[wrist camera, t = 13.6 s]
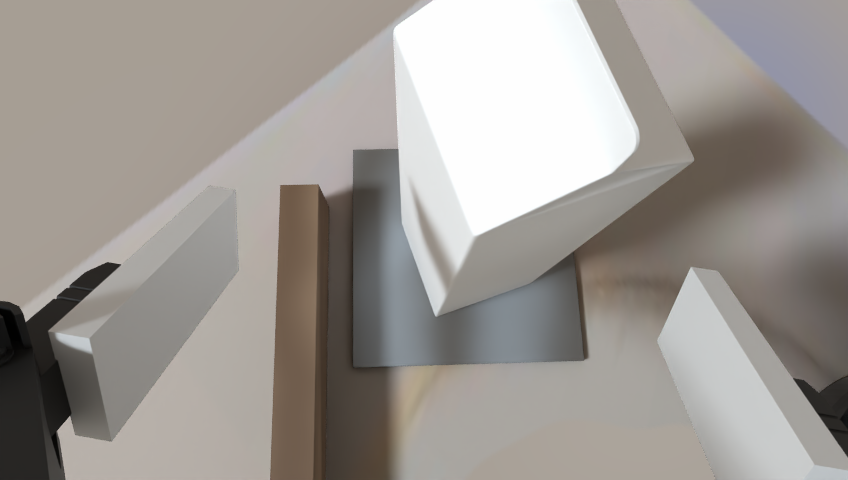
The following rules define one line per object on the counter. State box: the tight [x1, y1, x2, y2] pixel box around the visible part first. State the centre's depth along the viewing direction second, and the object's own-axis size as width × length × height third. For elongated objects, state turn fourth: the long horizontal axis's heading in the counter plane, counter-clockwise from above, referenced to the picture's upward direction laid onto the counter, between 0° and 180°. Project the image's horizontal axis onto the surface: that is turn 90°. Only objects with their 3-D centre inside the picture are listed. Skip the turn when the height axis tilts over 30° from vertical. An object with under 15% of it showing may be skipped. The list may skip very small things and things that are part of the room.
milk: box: [393, 0, 694, 317], centre depth 21 cm, size 6×6×22 cm
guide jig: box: [270, 149, 584, 480], centre depth 29 cm, size 16×26×4 cm, turn 2°
